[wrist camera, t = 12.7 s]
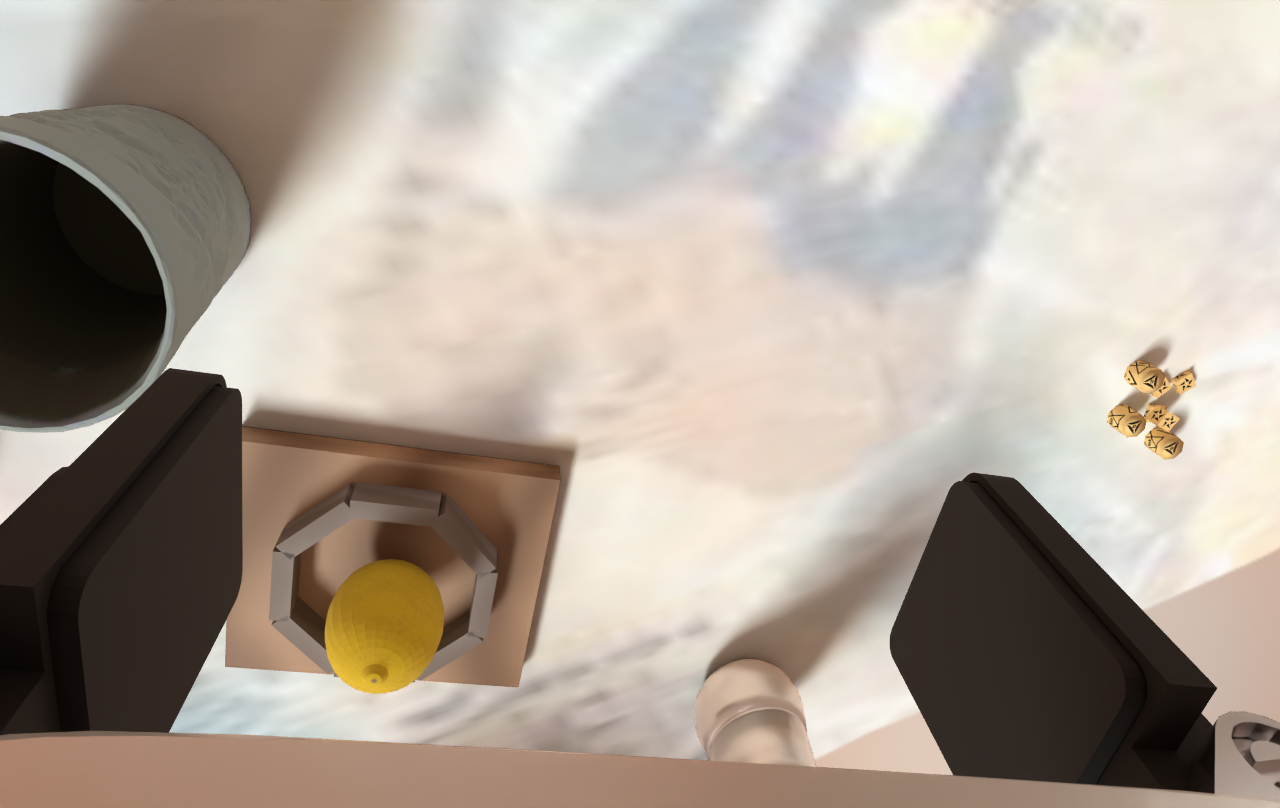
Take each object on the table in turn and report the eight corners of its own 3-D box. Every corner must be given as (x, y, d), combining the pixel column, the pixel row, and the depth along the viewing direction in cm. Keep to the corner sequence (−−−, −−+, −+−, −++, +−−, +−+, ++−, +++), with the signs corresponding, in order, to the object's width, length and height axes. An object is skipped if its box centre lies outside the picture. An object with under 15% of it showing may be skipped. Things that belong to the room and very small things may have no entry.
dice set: (1152, 447, 50) (1174, 462, 49) (1083, 428, 49) (1103, 443, 47) (1197, 372, 49) (1222, 385, 47) (1127, 351, 47) (1150, 363, 46)
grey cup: (212, 63, 35) (75, 83, 24) (308, 289, 39) (229, 392, 28) (-27, 124, 35) (-275, 172, 24) (96, 345, 39) (-65, 469, 28)
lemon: (335, 608, 45) (301, 721, 38) (350, 522, 43) (316, 623, 36) (439, 622, 46) (425, 733, 39) (458, 538, 44) (447, 639, 37)
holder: (559, 466, 45) (562, 498, 42) (518, 669, 50) (518, 710, 47) (241, 426, 42) (219, 457, 39) (233, 648, 47) (214, 690, 44)
